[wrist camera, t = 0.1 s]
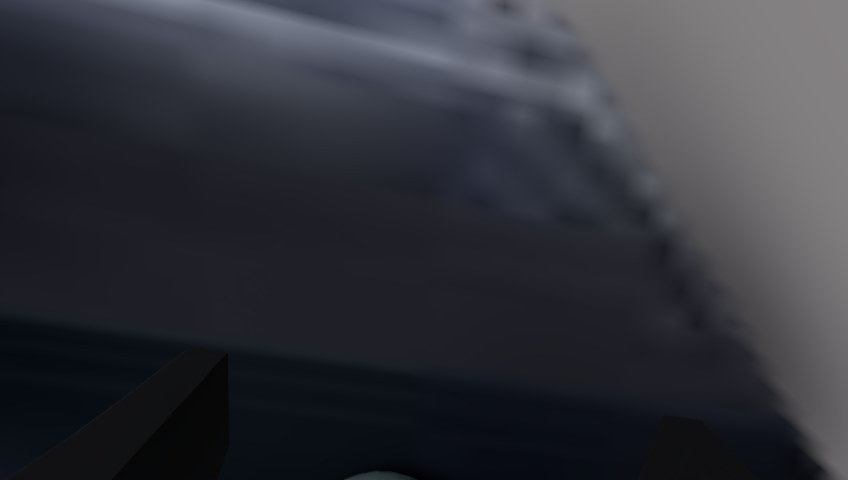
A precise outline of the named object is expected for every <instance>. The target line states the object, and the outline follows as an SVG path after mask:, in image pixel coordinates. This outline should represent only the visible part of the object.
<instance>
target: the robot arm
mask: <svg viewBox="0 0 848 480" xmlns="http://www.w3.org/2000/svg"><path fill="white" fill-rule="evenodd" d="M228 447H229V402H228V352H222V351H215V350H208V349H201V348H194V347H190V348H189V349H187V350H186V351H184V352H183V353H182V354H180V355H179V356H178V357H176V358H175V359H173V360H172V361H171V362H169V363H168V364H167V365H166V366H164V367H163V368H162V369H160V370H159V371H158V372H156V373H155V374H154V375H153V376H151V377H150V378H149V379H147V380H146V381H145V382H143V383H142V384H141V385H139V386H138V387H137V388H136V389H134V390H133V391H132V392H130V393H129V394H128V395H126V396H125V397H124V398H122V399H121V400H120V401H118V402H117V403H116V404H114V405H113V406H112V407H110V408H109V409H107V410H106V411H105V412H103V413H102V414H101V415H99V416H98V417H96V418H95V419H94V420H92V421H91V422H90V423H88V424H87V425H85V426H84V427H83V428H81V429H80V430H79V431H77V432H76V433H74V434H73V435H72V436H70V437H69V438H67V439H66V440H64V441H63V442H62V443H60V444H59V445H57V446H56V447H54V448H53V449H51V450H50V451H48V452H47V453H45V454H44V455H42V456H41V457H39V458H38V459H36V460H35V461H33V462H32V463H30V464H29V465H27V466H26V467H24V468H23V469H21V470H20V471H18V472H17V473H15V474H14V475H12V476H11V477H9V478H8V479H6V480H217V478H218V475H219V472H220V469H221V467H222V464H223V461H224V458H225V455H226V452H227V450H228ZM637 480H759V479H758V478H757V477H756V476H755V475H754V474H753V473H752V472H751V471H750V470H749V469H748V468H747V467H746V466H745V465H744V464H743V463H742V462H741V461H740V459H739V458H738V457H737V456H736V455H735V454H734V453H733V452H732V451H731V450H730V449H729V448H728V447H727V446H726V445H725V444H724V443H723V442H722V441H721V440H720V439H719V438H718V437H717V436H716V435H715V434H714V433H713V432H712V431H711V430H710V429H709V428H708V427H707V426H706V425H705V424H704V423H703V422H702V421H700V420H693V419H686V418H679V417H672V416H665V415H664V416H663V419H662V421H661V423H660V426H659V428H658V431H657V433H656V435H655V438H654V440H653V443H652V445H651V447H650V450H649V452H648V454H647V457H646V459H645V462H644V464H643V466H642V469H641V471H640V474H639V476H638V478H637Z"/></svg>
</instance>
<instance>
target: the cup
mask: <svg viewBox="0 0 848 480" xmlns="http://www.w3.org/2000/svg"><path fill="white" fill-rule="evenodd" d="M344 480H418V479H416V478H413V477H411V476H408V475H404V474H400V473H396V472H390V471H371V472H365V473H360V474H357V475H354V476H351V477H348V478H346V479H344Z"/></svg>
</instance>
